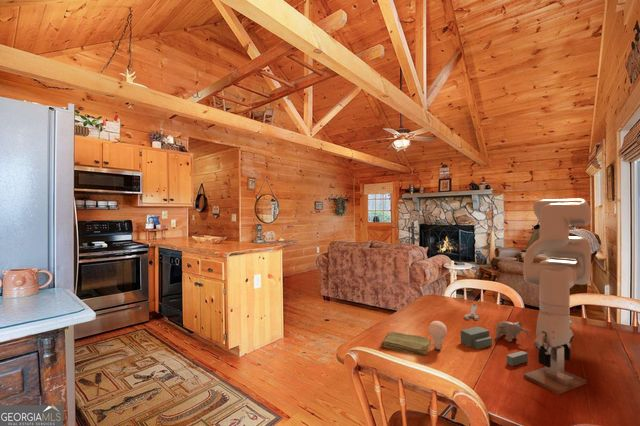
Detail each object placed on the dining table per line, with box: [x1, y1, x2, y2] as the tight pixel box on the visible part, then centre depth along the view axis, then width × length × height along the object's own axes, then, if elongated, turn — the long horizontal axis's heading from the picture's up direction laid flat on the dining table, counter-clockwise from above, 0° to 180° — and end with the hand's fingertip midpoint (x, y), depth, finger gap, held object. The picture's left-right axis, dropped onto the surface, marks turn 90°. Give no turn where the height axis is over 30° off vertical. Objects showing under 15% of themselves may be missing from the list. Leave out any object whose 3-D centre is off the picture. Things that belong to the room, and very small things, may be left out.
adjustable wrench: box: [463, 303, 480, 321], centre depth 157 cm, size 25×6×2 cm, turn 144°
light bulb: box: [428, 320, 448, 350], centre depth 117 cm, size 7×7×11 cm
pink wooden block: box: [544, 342, 573, 385], centre depth 94 cm, size 4×6×10 cm, turn 22°
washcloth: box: [380, 331, 431, 356], centre depth 121 cm, size 13×18×3 cm
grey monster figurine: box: [495, 321, 531, 343], centre depth 125 cm, size 9×12×8 cm
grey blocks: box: [460, 325, 529, 367], centre depth 115 cm, size 10×21×5 cm, turn 22°
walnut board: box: [523, 366, 588, 395], centre depth 95 cm, size 14×10×1 cm
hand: (554, 362), depth 95 cm, fingers open, 9 cm apart
